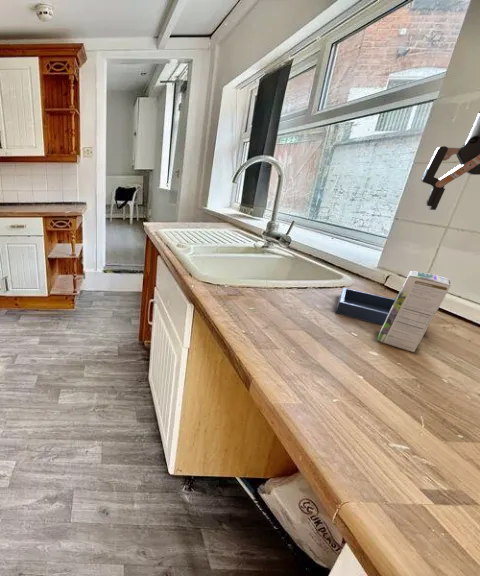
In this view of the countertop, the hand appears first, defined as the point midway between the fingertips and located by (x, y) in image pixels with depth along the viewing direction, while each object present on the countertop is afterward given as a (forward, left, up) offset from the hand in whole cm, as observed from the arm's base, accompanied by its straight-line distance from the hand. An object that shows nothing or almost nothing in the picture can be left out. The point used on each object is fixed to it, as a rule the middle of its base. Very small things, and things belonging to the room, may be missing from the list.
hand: (466, 212), depth 53 cm
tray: (+4, -14, -26) cm, 30 cm away
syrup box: (+1, +1, -27) cm, 27 cm away
